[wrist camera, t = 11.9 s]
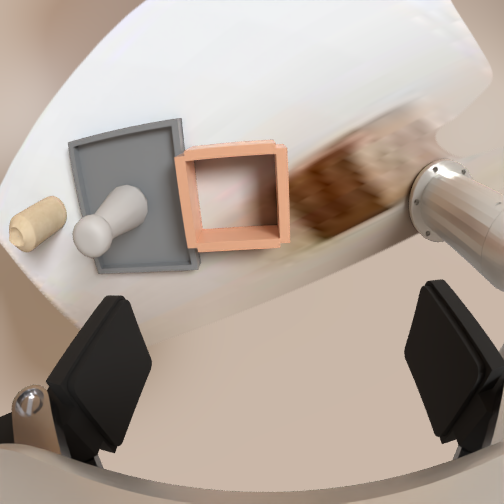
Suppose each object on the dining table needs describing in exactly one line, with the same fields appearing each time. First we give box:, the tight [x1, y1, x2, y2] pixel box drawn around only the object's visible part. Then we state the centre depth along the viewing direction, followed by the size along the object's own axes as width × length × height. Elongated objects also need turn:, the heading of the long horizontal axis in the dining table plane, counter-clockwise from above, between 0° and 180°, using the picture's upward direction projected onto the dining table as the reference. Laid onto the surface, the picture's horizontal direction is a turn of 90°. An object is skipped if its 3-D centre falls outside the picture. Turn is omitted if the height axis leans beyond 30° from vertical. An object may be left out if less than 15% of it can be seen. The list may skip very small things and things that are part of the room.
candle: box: [9, 196, 67, 252], centre depth 34 cm, size 6×6×10 cm
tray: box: [68, 118, 201, 274], centre depth 37 cm, size 16×20×2 cm
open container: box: [174, 140, 290, 252], centre depth 36 cm, size 12×12×4 cm
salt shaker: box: [73, 185, 148, 258], centre depth 32 cm, size 6×6×13 cm
